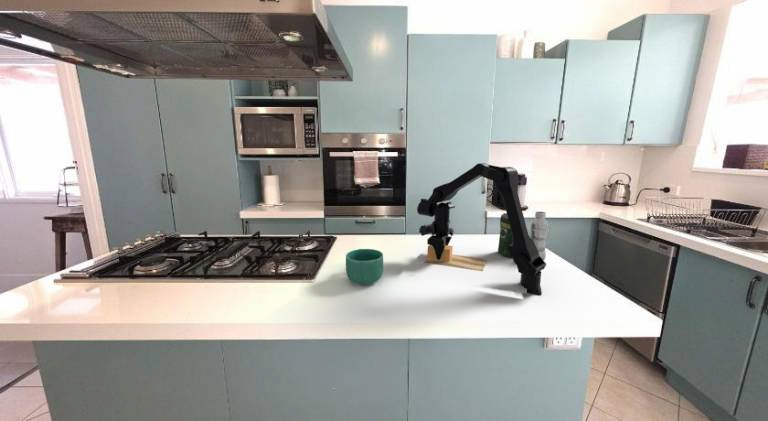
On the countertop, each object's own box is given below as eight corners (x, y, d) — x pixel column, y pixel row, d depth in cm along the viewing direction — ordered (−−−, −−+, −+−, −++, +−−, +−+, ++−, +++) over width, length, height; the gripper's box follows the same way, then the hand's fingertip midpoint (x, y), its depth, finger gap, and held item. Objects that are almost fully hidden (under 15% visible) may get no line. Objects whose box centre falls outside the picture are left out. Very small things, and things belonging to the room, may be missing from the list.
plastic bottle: (523, 259, 124) (527, 211, 121) (534, 257, 127) (539, 210, 123) (537, 264, 118) (541, 214, 115) (548, 262, 121) (554, 213, 118)
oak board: (482, 275, 108) (482, 271, 108) (423, 266, 117) (423, 262, 117) (486, 262, 121) (486, 258, 121) (432, 255, 130) (432, 251, 129)
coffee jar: (524, 261, 122) (528, 216, 119) (506, 262, 121) (509, 216, 118) (511, 253, 132) (515, 211, 129) (494, 254, 131) (497, 212, 128)
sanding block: (449, 261, 117) (450, 249, 116) (427, 258, 121) (427, 246, 120) (452, 258, 122) (452, 246, 121) (430, 255, 125) (430, 243, 124)
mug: (385, 288, 98) (385, 259, 96) (346, 290, 96) (345, 261, 95) (379, 269, 114) (379, 244, 112) (345, 270, 112) (345, 246, 111)
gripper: (428, 212, 130) (427, 247, 133) (414, 221, 113) (413, 261, 116) (454, 214, 125) (452, 251, 128) (444, 224, 109) (442, 265, 111)
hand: (440, 256), depth 121 cm, fingers open, 6 cm apart
